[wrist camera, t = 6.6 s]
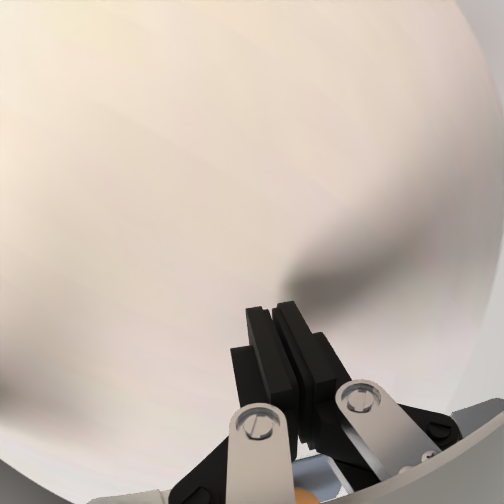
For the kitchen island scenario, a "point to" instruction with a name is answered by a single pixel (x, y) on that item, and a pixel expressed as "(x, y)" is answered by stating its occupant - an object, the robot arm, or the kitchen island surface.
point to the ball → (304, 496)
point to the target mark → (316, 477)
